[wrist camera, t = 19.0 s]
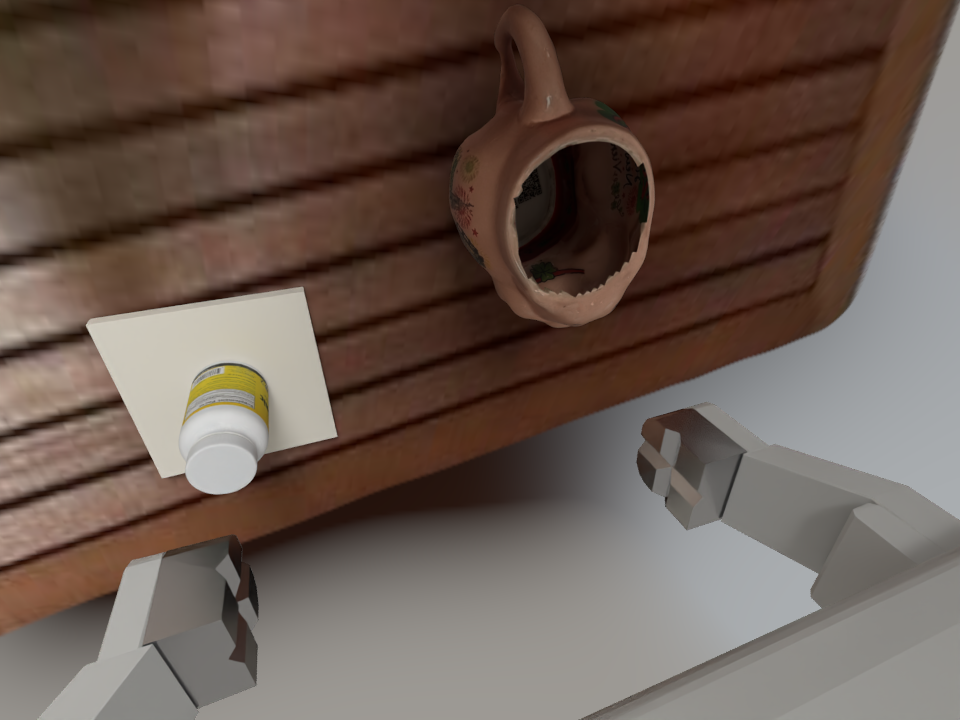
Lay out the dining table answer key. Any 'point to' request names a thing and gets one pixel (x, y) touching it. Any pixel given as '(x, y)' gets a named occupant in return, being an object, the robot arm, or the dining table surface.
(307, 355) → the tile
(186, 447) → the supplement bottle
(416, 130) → the dining table surface
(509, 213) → the decorative planter
